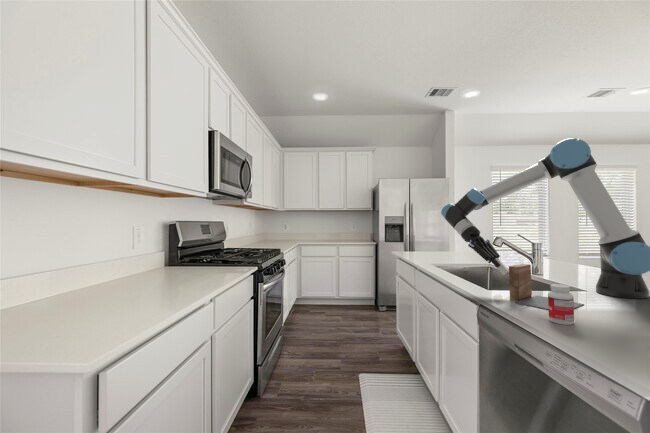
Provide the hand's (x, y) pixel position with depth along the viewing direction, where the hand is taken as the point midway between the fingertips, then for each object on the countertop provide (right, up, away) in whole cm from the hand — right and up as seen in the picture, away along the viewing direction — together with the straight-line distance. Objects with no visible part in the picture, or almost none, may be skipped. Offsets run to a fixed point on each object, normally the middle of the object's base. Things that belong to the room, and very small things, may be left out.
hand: (506, 272), depth 122 cm
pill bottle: (-2, -9, -31) cm, 32 cm away
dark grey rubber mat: (+8, -9, -13) cm, 18 cm away
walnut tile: (+3, -9, -5) cm, 11 cm away
